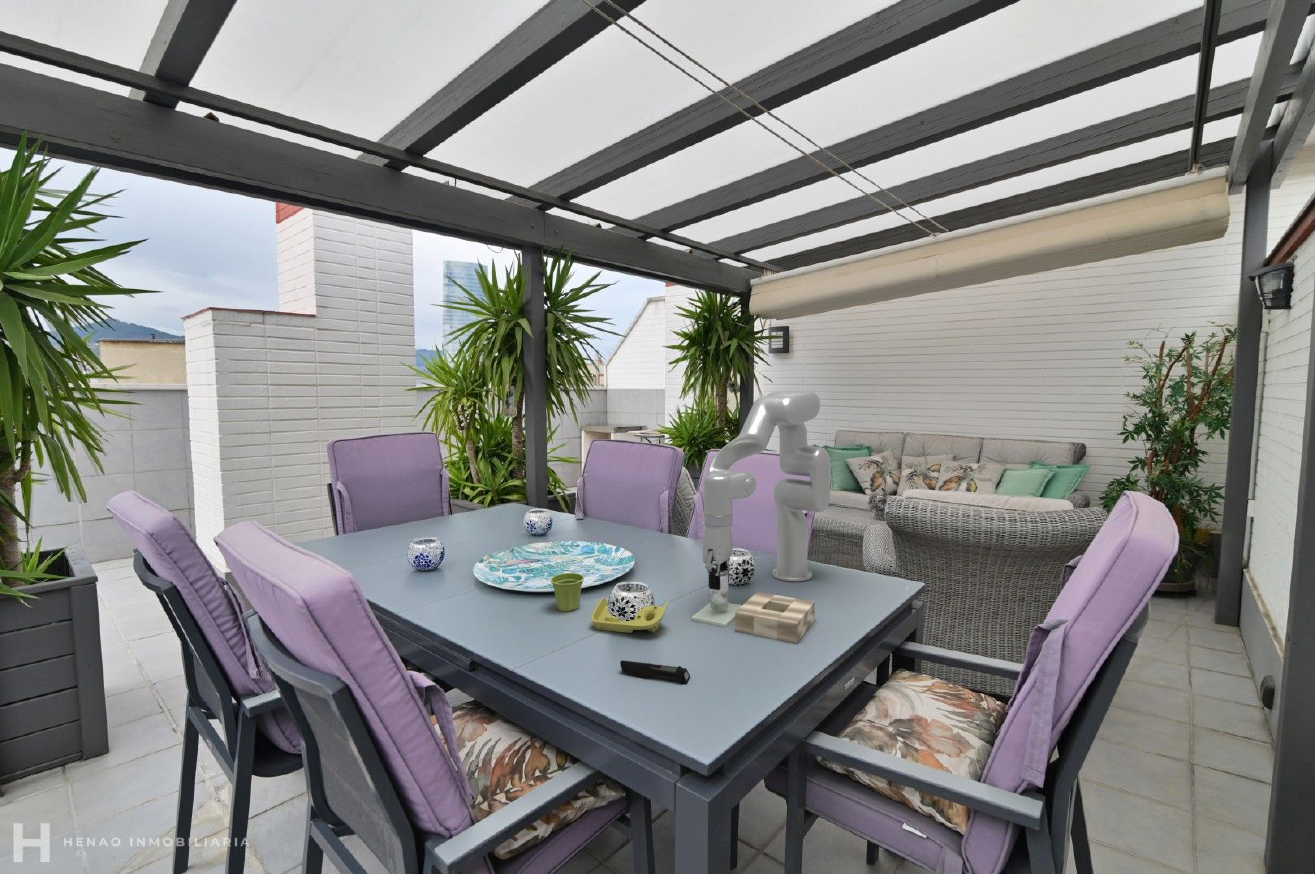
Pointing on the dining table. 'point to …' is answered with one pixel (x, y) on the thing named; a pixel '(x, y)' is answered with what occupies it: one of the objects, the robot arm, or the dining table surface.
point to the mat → (716, 615)
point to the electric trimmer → (656, 671)
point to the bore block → (775, 617)
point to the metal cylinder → (720, 592)
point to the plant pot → (567, 590)
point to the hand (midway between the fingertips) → (719, 585)
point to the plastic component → (643, 620)
